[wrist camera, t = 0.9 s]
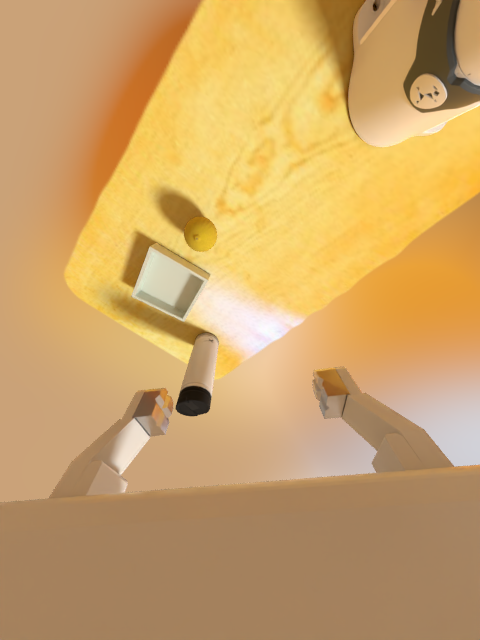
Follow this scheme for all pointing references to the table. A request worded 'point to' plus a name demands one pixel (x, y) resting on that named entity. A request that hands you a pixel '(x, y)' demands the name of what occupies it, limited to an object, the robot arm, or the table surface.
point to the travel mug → (199, 377)
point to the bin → (169, 282)
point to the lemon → (200, 234)
